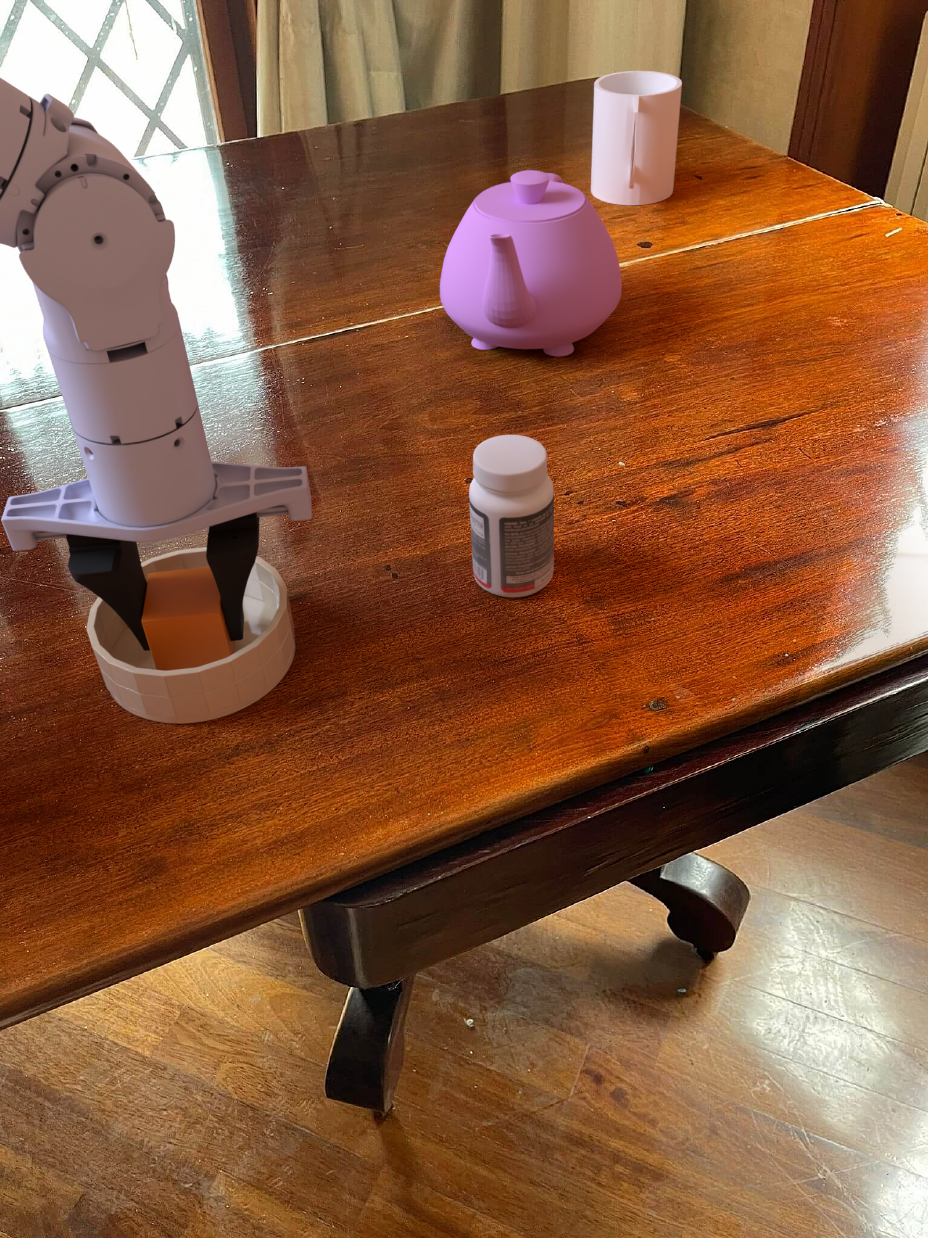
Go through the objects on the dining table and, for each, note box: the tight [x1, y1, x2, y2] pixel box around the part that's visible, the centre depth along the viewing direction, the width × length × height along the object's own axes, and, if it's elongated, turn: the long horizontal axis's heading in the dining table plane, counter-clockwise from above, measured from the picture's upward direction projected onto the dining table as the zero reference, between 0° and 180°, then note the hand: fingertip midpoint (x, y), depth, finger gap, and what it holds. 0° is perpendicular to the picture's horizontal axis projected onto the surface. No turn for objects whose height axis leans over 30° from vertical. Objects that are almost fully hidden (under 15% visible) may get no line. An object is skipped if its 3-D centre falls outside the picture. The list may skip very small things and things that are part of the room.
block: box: [141, 567, 235, 671], centre depth 58 cm, size 4×4×4 cm
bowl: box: [86, 546, 297, 725], centre depth 59 cm, size 10×10×4 cm
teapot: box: [439, 169, 622, 357], centre depth 83 cm, size 20×14×12 cm
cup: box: [590, 70, 683, 206], centre depth 105 cm, size 8×12×10 cm
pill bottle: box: [468, 434, 555, 599], centre depth 62 cm, size 5×5×8 cm
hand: (195, 633), depth 59 cm, fingers closed on block, 4 cm apart
